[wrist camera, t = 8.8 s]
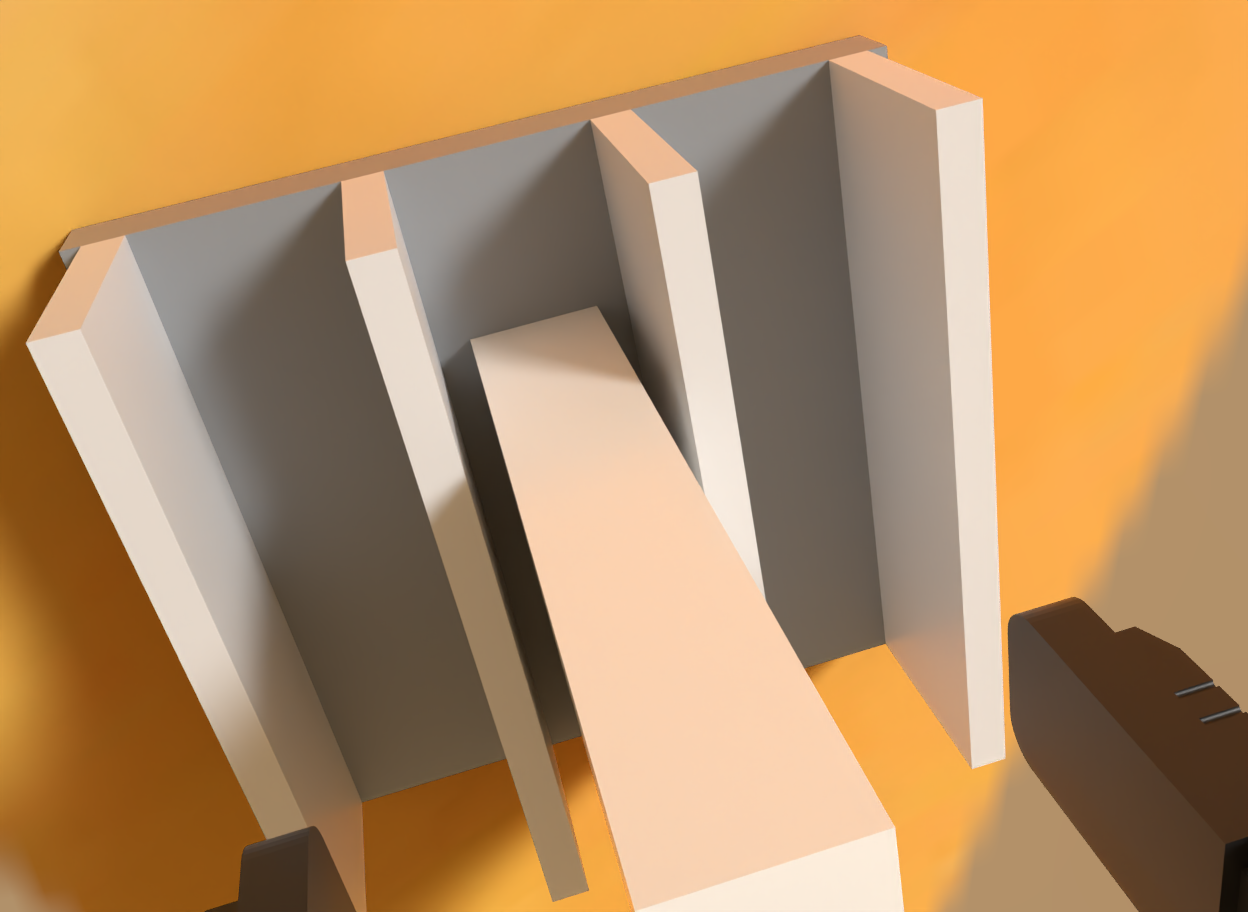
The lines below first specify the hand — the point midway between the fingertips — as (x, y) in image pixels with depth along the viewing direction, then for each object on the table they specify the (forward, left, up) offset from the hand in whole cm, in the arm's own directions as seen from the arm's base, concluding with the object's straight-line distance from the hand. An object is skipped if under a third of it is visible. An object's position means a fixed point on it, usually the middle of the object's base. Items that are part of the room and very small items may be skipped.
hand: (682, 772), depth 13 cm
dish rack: (0, 0, -8) cm, 8 cm away
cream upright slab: (+2, 0, -7) cm, 7 cm away
